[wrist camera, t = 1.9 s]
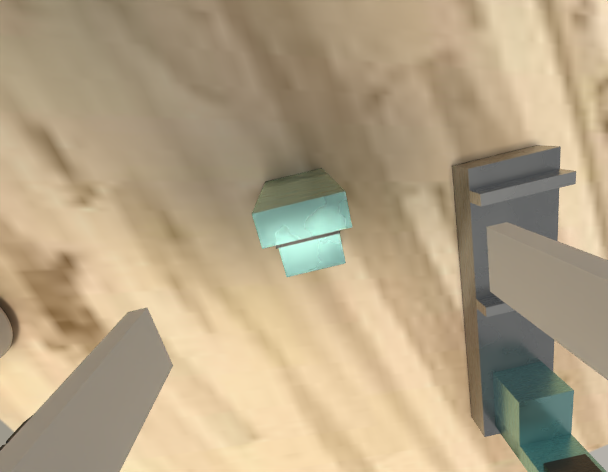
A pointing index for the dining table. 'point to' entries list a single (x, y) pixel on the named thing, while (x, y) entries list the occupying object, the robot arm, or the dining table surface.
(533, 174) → the rail
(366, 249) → the dining table surface
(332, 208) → the teal block
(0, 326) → the beverage can
